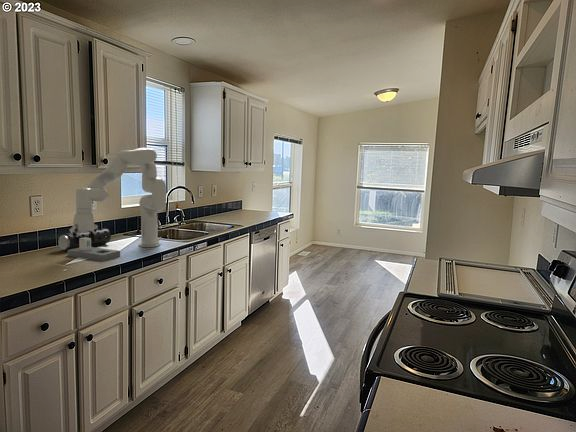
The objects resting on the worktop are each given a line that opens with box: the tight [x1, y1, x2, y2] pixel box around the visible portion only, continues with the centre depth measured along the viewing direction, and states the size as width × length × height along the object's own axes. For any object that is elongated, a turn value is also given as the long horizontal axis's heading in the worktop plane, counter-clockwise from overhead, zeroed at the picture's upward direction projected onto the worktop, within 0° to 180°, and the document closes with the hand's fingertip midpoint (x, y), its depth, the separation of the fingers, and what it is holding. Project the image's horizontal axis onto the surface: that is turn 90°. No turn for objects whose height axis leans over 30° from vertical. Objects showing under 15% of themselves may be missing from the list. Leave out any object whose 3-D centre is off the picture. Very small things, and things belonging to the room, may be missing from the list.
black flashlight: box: [57, 228, 112, 251], centre depth 226 cm, size 10×28×10 cm, turn 154°
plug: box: [79, 237, 92, 251], centre depth 208 cm, size 4×5×9 cm
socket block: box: [66, 246, 121, 262], centre depth 206 cm, size 12×24×4 cm, turn 70°
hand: (84, 242), depth 207 cm, fingers open, 9 cm apart
